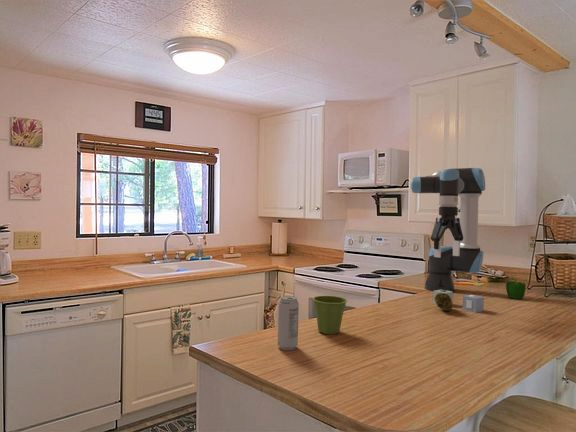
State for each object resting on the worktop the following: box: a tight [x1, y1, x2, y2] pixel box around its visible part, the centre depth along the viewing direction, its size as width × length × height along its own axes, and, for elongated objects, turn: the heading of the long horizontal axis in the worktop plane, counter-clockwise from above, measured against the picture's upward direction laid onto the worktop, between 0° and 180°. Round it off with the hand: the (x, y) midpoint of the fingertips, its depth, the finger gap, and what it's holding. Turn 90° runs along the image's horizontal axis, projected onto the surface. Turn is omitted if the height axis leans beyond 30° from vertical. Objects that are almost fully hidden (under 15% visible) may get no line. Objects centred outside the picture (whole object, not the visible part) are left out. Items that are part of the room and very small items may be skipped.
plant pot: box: [312, 295, 349, 336], centre depth 148 cm, size 12×12×11 cm
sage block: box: [432, 290, 454, 305], centre depth 196 cm, size 6×6×6 cm
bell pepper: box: [505, 277, 527, 300], centre depth 214 cm, size 8×8×10 cm
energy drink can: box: [277, 295, 300, 351], centre depth 130 cm, size 6×6×15 cm
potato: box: [435, 293, 454, 312], centre depth 184 cm, size 8×13×8 cm, turn 138°
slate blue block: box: [462, 294, 485, 314], centre depth 186 cm, size 6×6×6 cm
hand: (446, 256), depth 183 cm, fingers open, 13 cm apart
